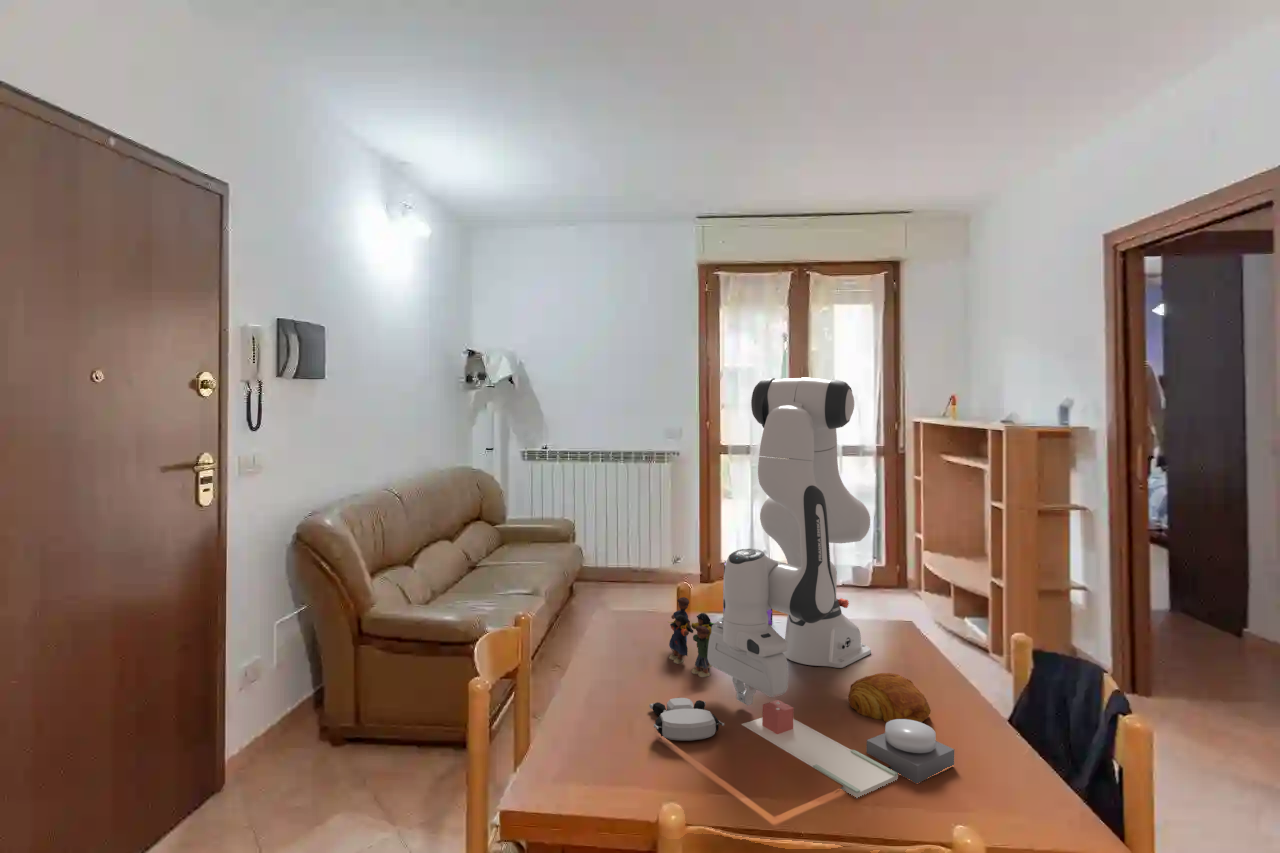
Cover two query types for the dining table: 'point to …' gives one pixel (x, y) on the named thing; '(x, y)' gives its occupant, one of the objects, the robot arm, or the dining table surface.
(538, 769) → the dining table surface
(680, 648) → the doll family
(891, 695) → the croissant
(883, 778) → the board
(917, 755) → the base
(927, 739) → the dome plunger
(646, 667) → the dining table surface
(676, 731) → the robot toy
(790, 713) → the red die
